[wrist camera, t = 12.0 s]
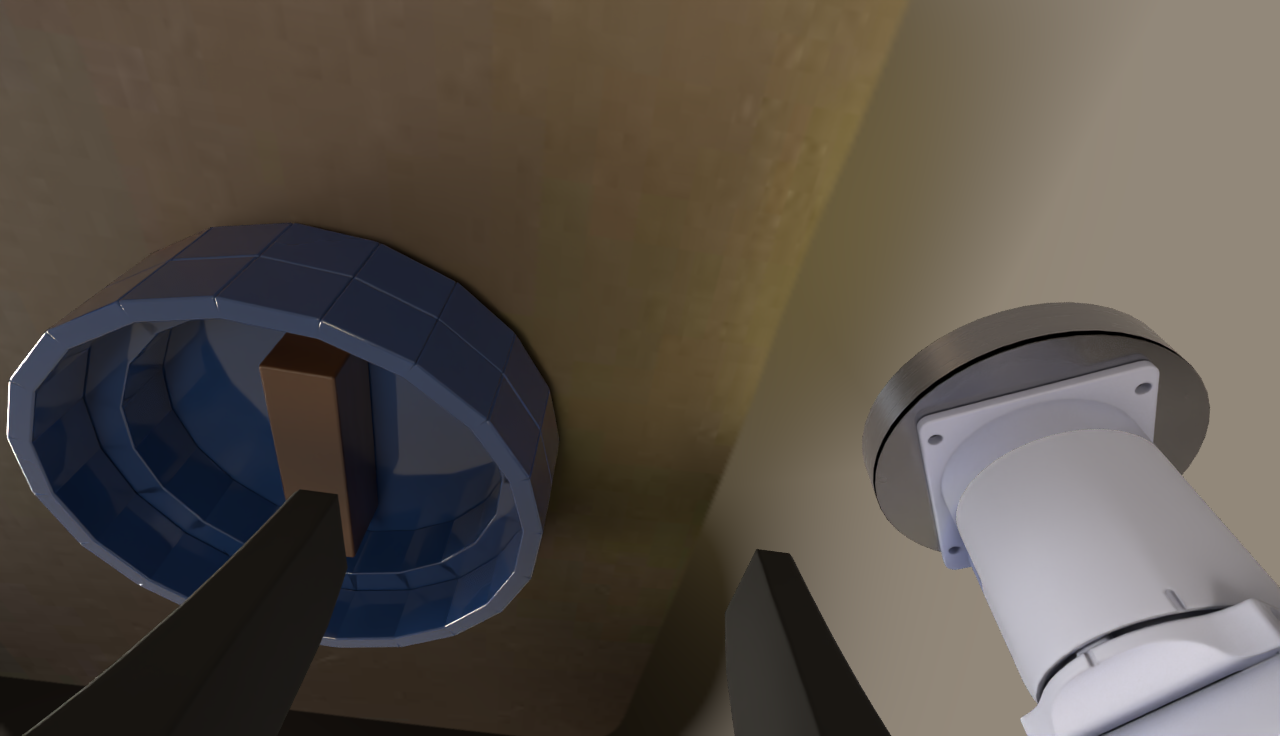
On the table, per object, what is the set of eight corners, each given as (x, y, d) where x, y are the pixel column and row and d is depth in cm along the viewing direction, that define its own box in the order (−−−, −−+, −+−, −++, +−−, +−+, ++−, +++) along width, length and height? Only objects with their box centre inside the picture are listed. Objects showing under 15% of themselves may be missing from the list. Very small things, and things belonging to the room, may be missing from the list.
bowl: (623, 495, 24) (617, 601, 21) (317, 572, 28) (266, 676, 24) (407, 136, 16) (335, 208, 13) (18, 307, 20) (-124, 402, 16)
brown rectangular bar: (379, 505, 24) (354, 559, 22) (323, 496, 24) (293, 550, 22) (366, 328, 19) (334, 378, 17) (297, 316, 19) (256, 365, 17)
